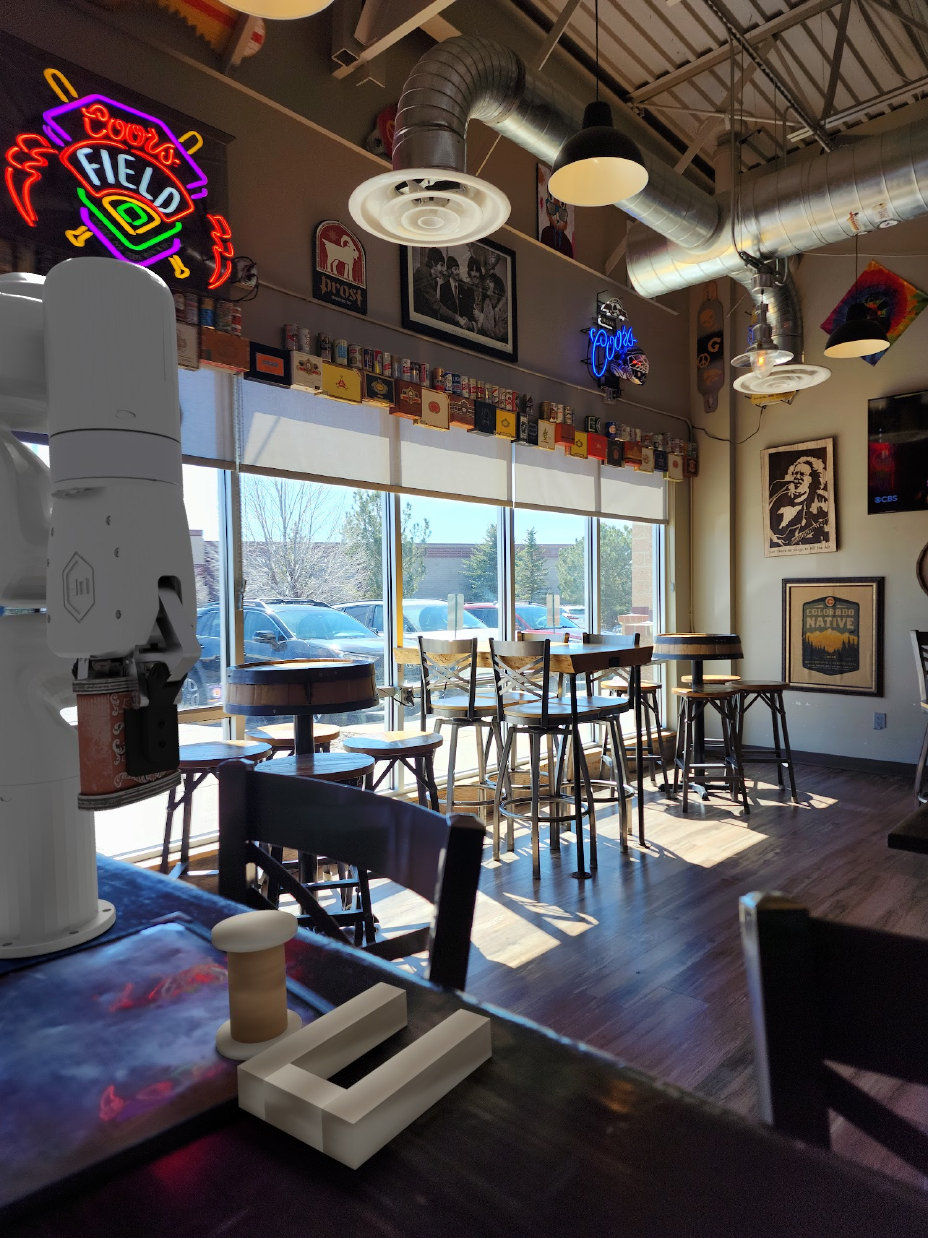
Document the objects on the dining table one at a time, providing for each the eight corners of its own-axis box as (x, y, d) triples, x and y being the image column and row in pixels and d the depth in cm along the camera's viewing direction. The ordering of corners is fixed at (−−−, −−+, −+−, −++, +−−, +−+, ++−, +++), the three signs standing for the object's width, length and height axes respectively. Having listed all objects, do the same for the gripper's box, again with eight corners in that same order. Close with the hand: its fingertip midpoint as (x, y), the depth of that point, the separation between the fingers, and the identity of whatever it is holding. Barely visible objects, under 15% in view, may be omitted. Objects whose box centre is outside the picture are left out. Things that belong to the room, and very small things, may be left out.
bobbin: (198, 1043, 56) (193, 932, 56) (266, 1007, 61) (261, 904, 61) (252, 1070, 52) (247, 950, 52) (319, 1029, 57) (314, 920, 57)
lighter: (114, 812, 44) (106, 635, 44) (62, 811, 45) (54, 637, 45) (193, 781, 52) (187, 631, 52) (148, 781, 53) (142, 633, 53)
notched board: (238, 1107, 48) (237, 1066, 48) (382, 1015, 59) (380, 982, 59) (355, 1170, 42) (353, 1124, 42) (491, 1055, 53) (490, 1018, 53)
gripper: (-6, 485, 51) (7, 768, 51) (134, 442, 40) (150, 797, 41) (106, 496, 57) (118, 749, 57) (254, 461, 46) (267, 770, 46)
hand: (131, 766), depth 49 cm, fingers closed on lighter, 4 cm apart
